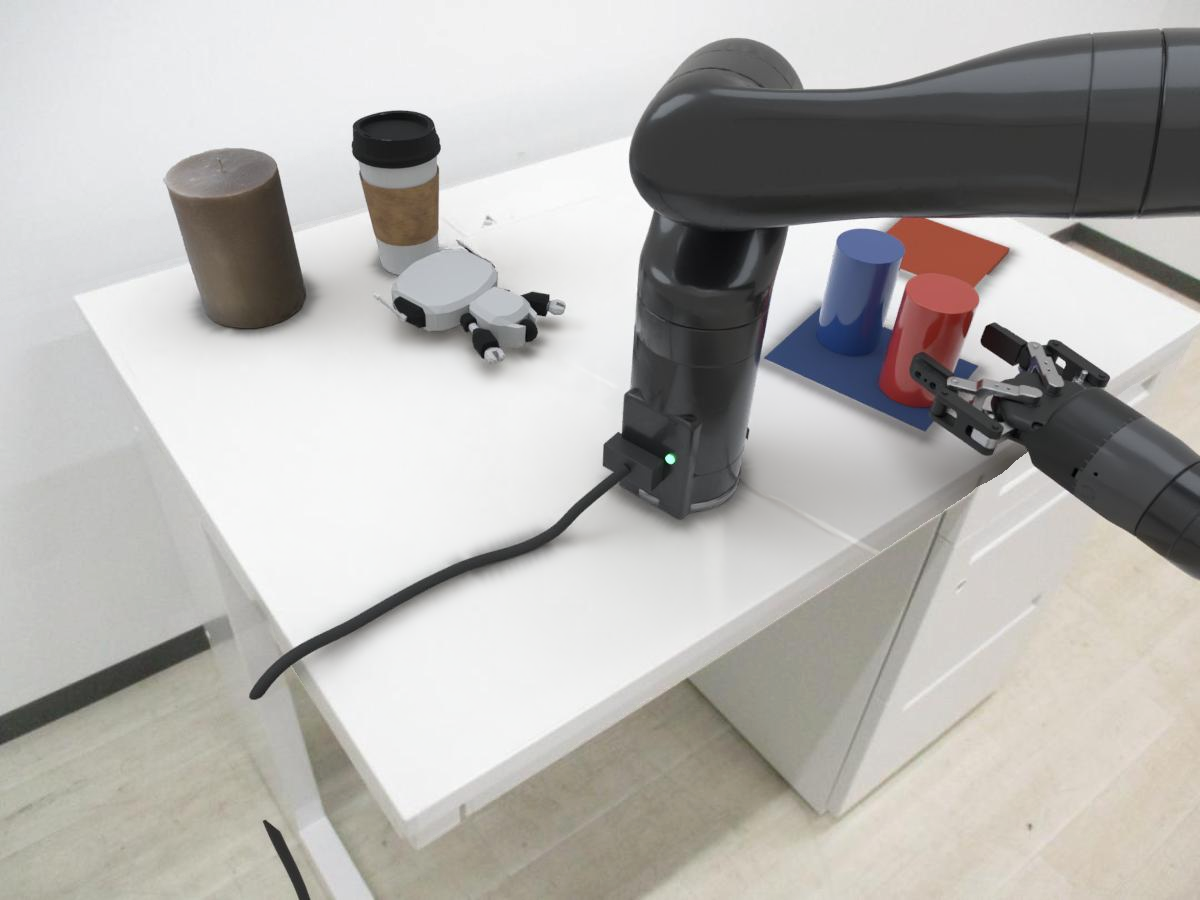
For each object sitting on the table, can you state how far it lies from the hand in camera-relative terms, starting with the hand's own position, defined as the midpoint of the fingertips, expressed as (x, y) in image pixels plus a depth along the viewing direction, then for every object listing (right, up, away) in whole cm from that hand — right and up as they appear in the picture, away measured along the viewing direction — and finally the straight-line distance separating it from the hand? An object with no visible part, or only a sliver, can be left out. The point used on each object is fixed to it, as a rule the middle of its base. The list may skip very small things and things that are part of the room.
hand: (950, 346), depth 80 cm
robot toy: (-42, +3, +12) cm, 43 cm away
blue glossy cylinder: (-6, +2, +11) cm, 12 cm away
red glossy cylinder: (-1, -3, +6) cm, 6 cm away
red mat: (+7, +12, +24) cm, 28 cm away
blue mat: (-4, -1, +9) cm, 10 cm away
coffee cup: (-49, +11, +20) cm, 54 cm away
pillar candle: (-63, +6, +13) cm, 65 cm away
